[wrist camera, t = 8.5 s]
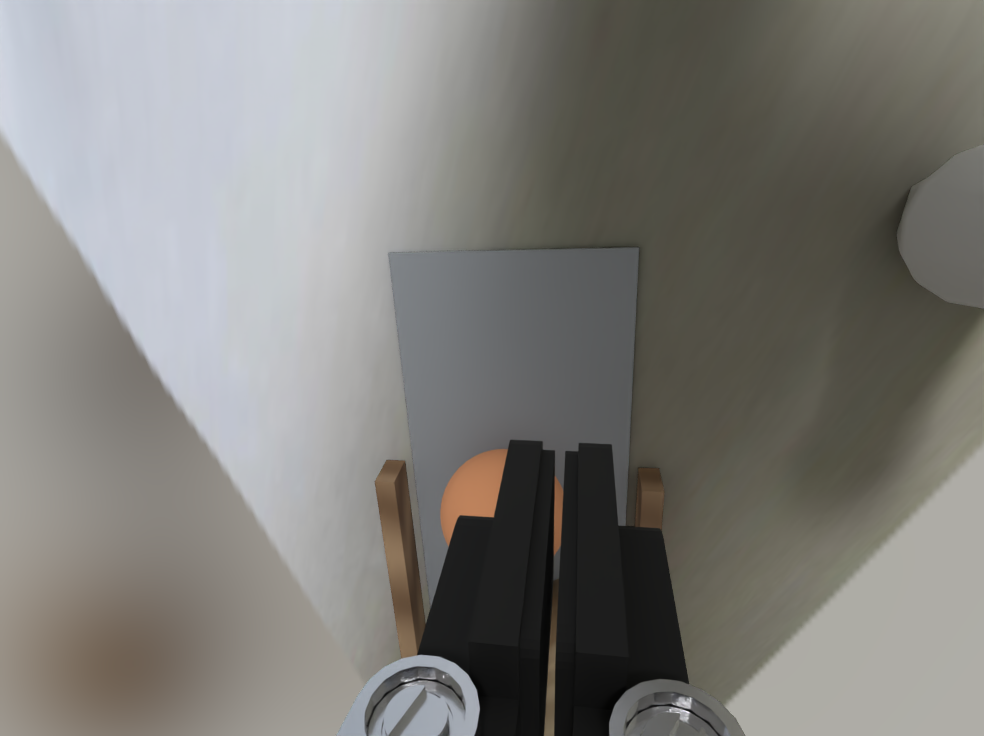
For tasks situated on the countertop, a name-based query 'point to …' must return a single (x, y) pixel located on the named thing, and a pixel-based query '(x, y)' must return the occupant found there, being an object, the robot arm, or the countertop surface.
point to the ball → (484, 493)
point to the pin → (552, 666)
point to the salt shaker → (947, 230)
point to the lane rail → (403, 546)
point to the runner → (513, 362)
